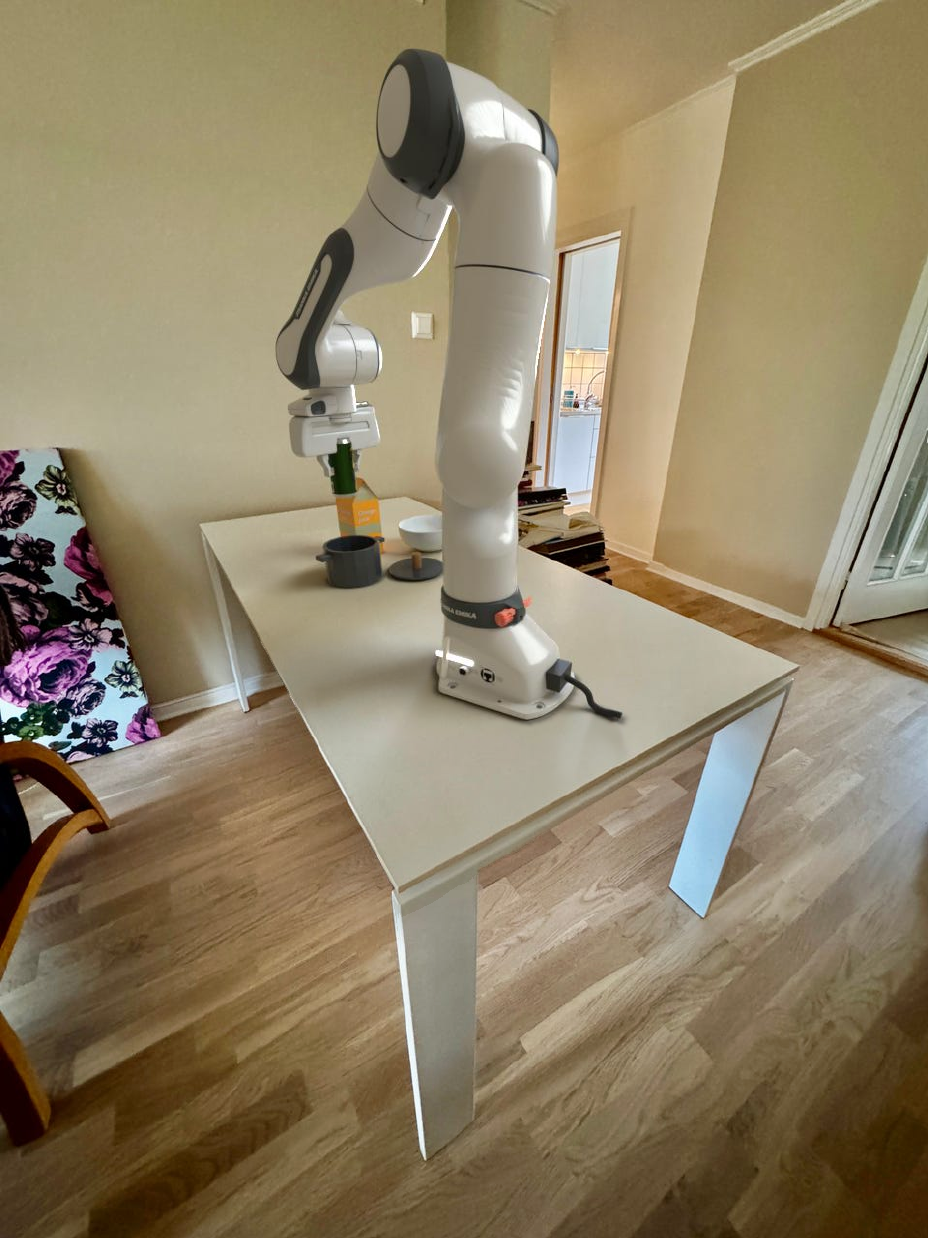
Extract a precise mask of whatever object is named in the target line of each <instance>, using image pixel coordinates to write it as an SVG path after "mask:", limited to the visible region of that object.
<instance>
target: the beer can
mask: <svg viewBox="0 0 928 1238" xmlns="http://www.w3.org/2000/svg"><path fill="white" fill-rule="evenodd" d="M349 438H350V437H347V438H337V440H338V441H337V443H336V445H337V452H336V453H333V454H328V460H327V463H328V464H329V466H330V467H333V468H334V473H335V476H332V477H329V480H330V485H331V493H332V495H333V496H334V498H336V497H337V498H348V497H353V496H356V494H357V483H356V477H357V476H356V472H355V466H354V458H353V455H354V454H353V450H352V443H351V441H350V439H349Z"/></svg>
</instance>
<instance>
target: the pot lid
mask: <svg viewBox="0 0 928 1238" xmlns="http://www.w3.org/2000/svg"><path fill="white" fill-rule="evenodd" d="M410 556H411V557H409V558H404V559H400V560H398V561H395V562H393V563H391V564H390V566H389V567H388V572H389V574H390V576H393V577H394V578H397V579H399V580H400V579H401V580H406V581H407V580H408V581H416V580H417V581H419V580H427V579H431V578H435V577H437V576H440V575H441V574H443V564H442V560H440V559H436V558H432V557H422V553H421V552H420V551H413V552H411V553H410Z"/></svg>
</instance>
